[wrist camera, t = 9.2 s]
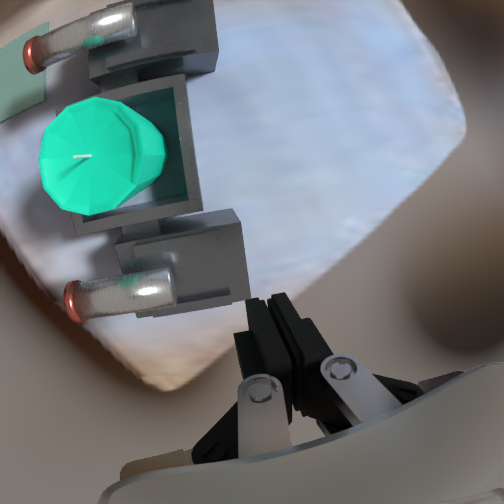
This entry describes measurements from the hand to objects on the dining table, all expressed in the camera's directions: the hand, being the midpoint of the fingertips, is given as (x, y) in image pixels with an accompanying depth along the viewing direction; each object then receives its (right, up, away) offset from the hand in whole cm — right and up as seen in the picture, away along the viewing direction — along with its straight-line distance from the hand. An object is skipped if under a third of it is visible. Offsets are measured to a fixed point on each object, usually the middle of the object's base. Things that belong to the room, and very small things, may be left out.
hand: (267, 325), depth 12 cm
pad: (-24, +20, +3) cm, 31 cm away
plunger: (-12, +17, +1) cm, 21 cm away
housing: (-9, +11, +9) cm, 17 cm away
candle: (-10, +11, +9) cm, 18 cm away
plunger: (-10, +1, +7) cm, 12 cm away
